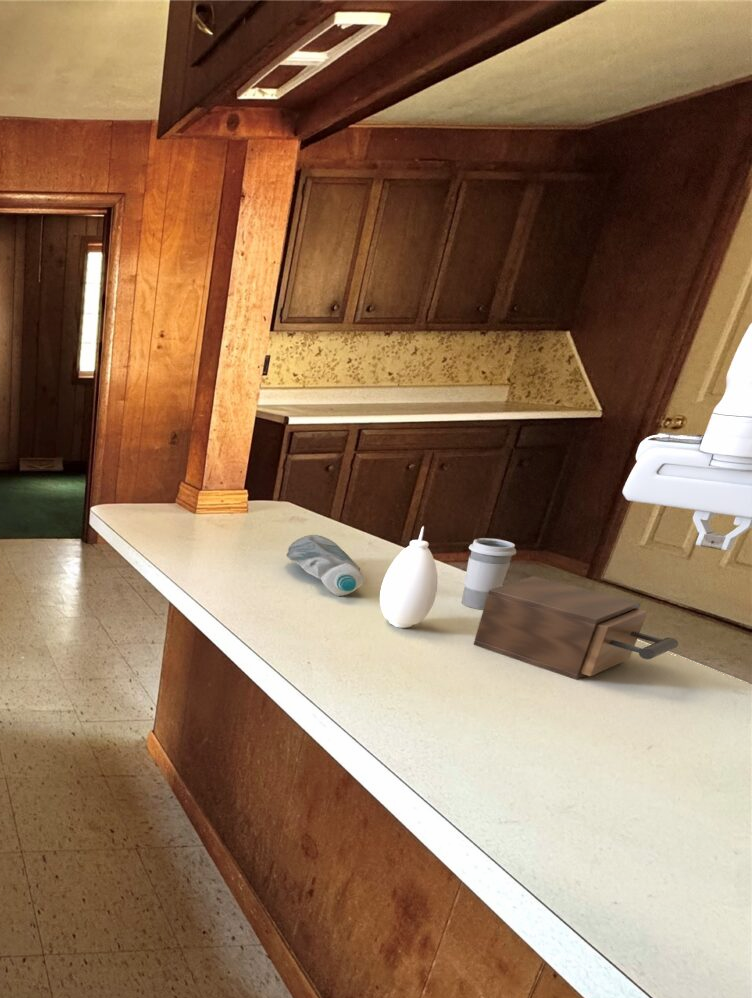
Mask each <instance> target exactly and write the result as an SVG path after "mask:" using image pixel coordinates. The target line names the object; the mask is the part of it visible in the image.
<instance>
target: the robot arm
mask: <svg viewBox="0 0 752 998" xmlns="http://www.w3.org/2000/svg"><path fill="white" fill-rule="evenodd" d="M725 383H726V385H725V390H724V394H723V396H722V398H721V399H720V400H719V402H718V403H717V404H716V405H715V407H714V409H713V411H712V413H711V416H710V418H709V421H708V423H707V426H706V429H705V432H704V434H692V433H691V434H690V433H673V432H658V433H656V434H654V435H649V436H647V437H645V438H644V439H643V440H642V441H641V442H640V443H639V445H638V447H637V450H636V453H635V460H636V463H634V466H633V468H632V469H631V470H630V471H631V472H630V473H629V475H628V478H627V480H626V481H625V483H624V486H623V488H622V495H623V497H624V499H625V500H626V501H629V502H635V503H641V504H648V505H649V504H650V505H656V506H662V507H670V508H678V509H683V510H690V511H694V513H693V516H692V521H693V523H694V526H695V528H696V530H697V533H698V536H697V538H696V541H695V546H697V547H701V548H709V549H714V550H719V551H724V552H729V551H731V550H732V549H733V547H734V546H735V543H736V541H737V539H738V537H740V536H741V535H743V534H744V533H746V532H747V531H749V530H751V528H752V322H751V323H750V324H749V326H748V328H747V329H746V331H745V333H744V335H743V336H742V338H741V341H740V343H739V345H738V347H737V349H736V351H735V353H734V355H733V358H732V360H731V363H730V365H729V368H728V370H727V373H726V377H725ZM717 514H719V515H724V516H725V515H726V516H732V517H735V518H734V522H733V525H734V526H737V527H736V528H734V529H733V530H731V531H730V532H728V533H721V532H715V531H713V528H712V525H711V522H710V520H712V519H714V518H716V516H717Z"/></svg>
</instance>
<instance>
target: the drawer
mask: <svg viewBox="0 0 752 998" xmlns="http://www.w3.org/2000/svg"><path fill="white" fill-rule="evenodd" d="M647 614H648V611H647V610H643V609H640V608H639V609H636V610H633V611H631V612H628V613H626V614H623V615H621V614H620V615H621V616H620V615H618V616H615V617H613V618H610V619H607V620H605V621H602V622H603V623H600V624H598V625H597V628H596V631H595V634H594V636H593V639H592V642H591V645H590V648H589V650H588V653H587V656H586V659H585V661H584V664H583V667H582V670H581V673H582V674H585V676H587V677H593V676H595V675H596V674H598V673H601V672H603V671H605V670H608V669H609V668H613V667H614V666H617V665H619V664H621V663H623V662H626V661H627V660H630V658H631V656H632V653H633V652H634V653H638V655H639V657H640V658H641V659H644V660H651V659H654V658H656V657H658V656H661V655H663V654H665V653H668V652H669V651H672V650H673V649H675V648H677V647H678V646H679V641H678V640H677V639H676V638H674V637H671V636H669V637H665V638H663V639H662V638H660V637H655V636H652V635H649V634H645V633H641V631H642V627H643V625H644V622H645V620H646V617H647ZM638 639H641V640H645V641H648V642H652V643H651V644H650V645H647V646H644V647H639V646H635V645H636V643H637V641H638Z"/></svg>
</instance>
